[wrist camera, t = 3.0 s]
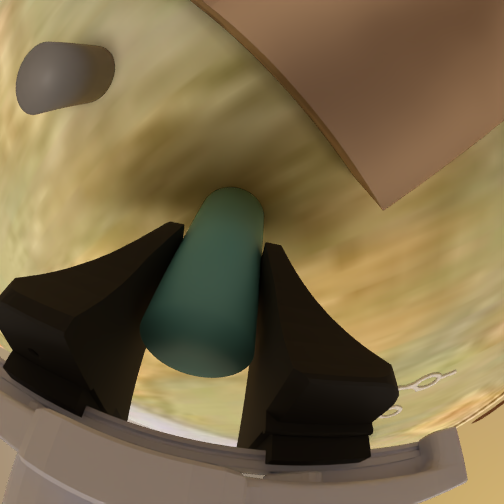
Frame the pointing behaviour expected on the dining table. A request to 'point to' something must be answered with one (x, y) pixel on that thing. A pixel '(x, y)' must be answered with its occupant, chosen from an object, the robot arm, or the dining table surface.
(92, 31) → the dining table surface
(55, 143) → the dining table surface
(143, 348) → the robot arm
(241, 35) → the walnut hole block
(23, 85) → the charcoal stub
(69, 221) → the dining table surface
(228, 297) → the teal pin
